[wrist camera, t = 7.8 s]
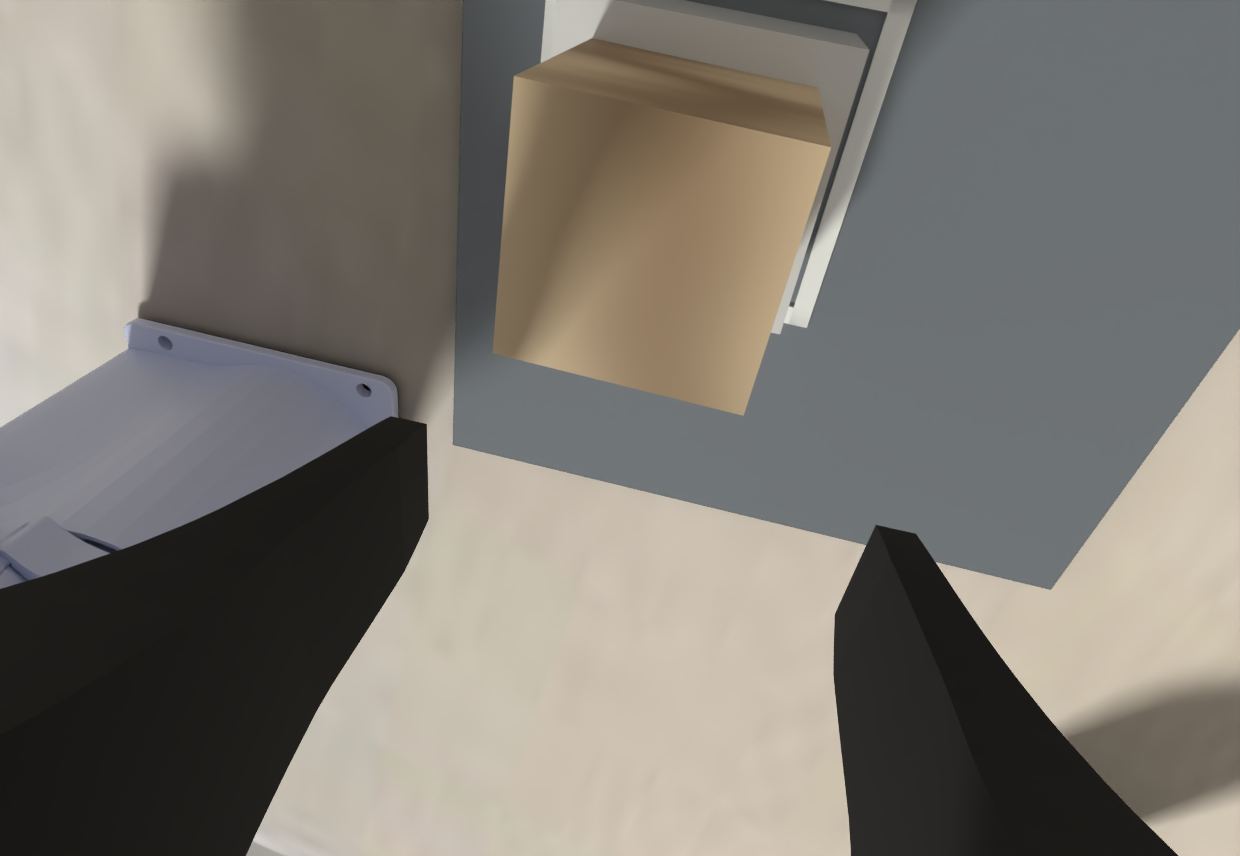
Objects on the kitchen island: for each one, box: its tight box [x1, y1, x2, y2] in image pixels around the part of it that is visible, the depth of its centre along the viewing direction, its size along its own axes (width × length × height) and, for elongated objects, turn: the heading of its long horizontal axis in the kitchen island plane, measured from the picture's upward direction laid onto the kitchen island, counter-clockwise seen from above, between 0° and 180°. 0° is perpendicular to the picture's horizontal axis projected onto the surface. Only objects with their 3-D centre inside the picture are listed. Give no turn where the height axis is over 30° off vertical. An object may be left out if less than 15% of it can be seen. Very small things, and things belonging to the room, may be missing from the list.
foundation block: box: [551, 0, 869, 334], centre depth 17 cm, size 6×6×3 cm
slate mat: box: [453, 0, 1240, 590], centre depth 19 cm, size 20×16×1 cm
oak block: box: [493, 38, 831, 416], centre depth 13 cm, size 4×4×5 cm
